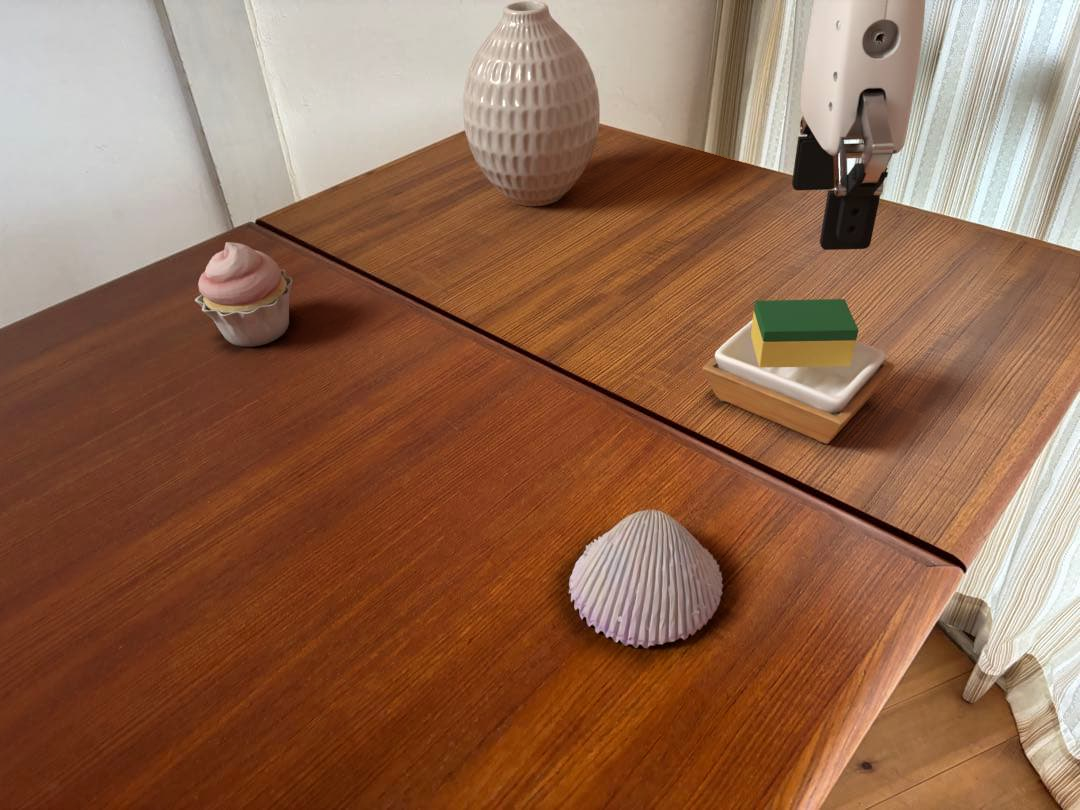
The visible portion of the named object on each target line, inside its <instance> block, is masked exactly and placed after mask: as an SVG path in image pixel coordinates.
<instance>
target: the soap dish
mask: <svg viewBox="0 0 1080 810" xmlns="http://www.w3.org/2000/svg"><path fill="white" fill-rule="evenodd" d="M752 321H753V319H752V320H750V321H749V322H747V324H745V325H744V326H743V327H742V328H740V329H739V330H738V331H737V332H735V333H734V334H733V335H732V336H731V337H729V338H728V339H727V340H726V341H725V342H724V343H722V344H721V346H719V347H718V348H717V349H716V351H715V353H714V356H713V357H712V358H711V359H710V360H709V361H707V362H706V363H705V364H704V365H702V371H703V373H704V376H705V378H706V379H707V382H708V383H709V386H710V388H711V389H712V391H713V393H714V395H715V397H716V398H717V399H718V400H719V401H720V402H721V403H729V404H731V405H733V406H735V407H738V408H740V409H742V410H745V411H748V412H749V413H752V414H755V415H756V416H759V417H762V418H764V419H767V420H769V421H771V422H773V423H776V424H778V425H781V426H783V427H785V428H787V429H790V430H792V431H795V432H797V433H800V434H802V435H804V436H806V437H808V438H812V439H814V440H816V441H817V442H818V443H820V444H826V445H827V444H828V445H829V443H831V442H832V441H833V439H834V438H835V437H836V436H837V435H838V434H839V433H840V431H842V429H844V427H845V426H846V425H847V424H848V423H849V421H850V420H852V418H853V417H854V416H855V415H857V413H858V411H860V409H861V408H862V407H864V405H865V404H866V403H867V402H868V400H869V399H870V398H871V397H872V396H873V395H874V394H875V393H876V391H877V389H879V387H880V386H881V385H882V383H883V382H884V381H885V379H886V378H887V377H888V376H889V374H890V373H891V372H892V370H893V369H894V368H895V367H896V364H895V363H893V362H891V361H889V360H887V359H886V353H885V352H884V351H883V350H881V349H879V348H876V347H874V346H873V345H869V344H867V343H864V342H861V341H858V340H856V344H855V348H854V353H853V357H852V362H851V366H828V367H759V364H758V361H757V357H756V353H755V350H754V346H753V342H752V339H751V329H752Z"/></svg>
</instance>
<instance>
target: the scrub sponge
mask: <svg viewBox="0 0 1080 810" xmlns="http://www.w3.org/2000/svg"><path fill="white" fill-rule="evenodd" d="M752 313H753V314H752V320H753V321H752V320H751V321H752V329H751V339H752V342H753V346H754V350H755V353H756V357H757V361H758V364H759V367H828V366H851V362H852V357H853V353H854V348H855V344H856V341H857V339H858V336H859V335H858V334H859V328H858V326H857V323H856V321H855V319H854V316H853V314H852V313H851V310H850V308H849V306H848V304H847V302H846V299H844V298H825V299H774V300H773V299H772V300H771V299H770V300H767V299H766V300H755V301H754V308H753V312H752Z"/></svg>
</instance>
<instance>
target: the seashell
mask: <svg viewBox="0 0 1080 810" xmlns="http://www.w3.org/2000/svg"><path fill="white" fill-rule="evenodd" d="M723 587H724V584H723V577H722V571H720V564H718V562H717V559H715V558H714V555H713V553H710V551H709V549H708V548H705V547H703V545H702V544H700V542H699V541H698V540H697V539H696V537H695V536H693V534H692V533H690V531H689V530H688V529H687V528H686V527H685V526H683V525H682V524H681V523H680V522H679V521H678V520H676V519H675V518H674V517H672V516H671V515H669V514H667V513H664V511H662V510H661V511H660V510H657V509H642V510H638V511H637V512H634V513H630V514H629V515H628V516H626V517H624V518H623V519H621V520H620V521H619V522H618V523H616V525H614V526H613V527H612V528H611V529H610V530H609V531H607V532H605V533H603V534H602V536H600V535H599V536H598V538H597V539H596V538H595V539H593V541H591V542H590V543H588V545H587V544H586V545H585V550H583V554H582V555H580V557H579V558H578V559H577V561H576V562H575V564H574V568H573V569H572V572H571V575H570V577H569V581H568V588H569V589H568V595H570V603H573V602H574V604H573V605H574V606H573V608H574V611H575V612H576V611H577V610H579V616H580V619H581V620H583V619H584V618H585V620H586V624H587V626H588V627H591V626H594V631H595V633H596V634H599V633H600V632H603V634H604V636H605V638H606V639H607V638H609V637H610V638H611V639H612V640H613V642H615V643H618V642H619V641H620V643H622V645H623V646H629V645H632V646H633V647H634V649H635V648H638V647H639V646H640V645H641V646H642V647H643V648H644V649H649V647H651V646H652V647H653V646H656V645H664V644H665V643H672V642H675V641H677V640H679V639H682V640H683V641H685V640H687V639H688V637H689V636H690V635H691V636H693V635H695V634H696V632H697V630H699V631H701V629H702V628H703V626H706V625H707V623H708V622H709V620H712V618H713V615H714V614H715V613H716V611H717V610H718V607H719V606H720V602H721V596H722V595H723V591H722V590H723Z"/></svg>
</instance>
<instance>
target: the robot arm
mask: <svg viewBox="0 0 1080 810" xmlns="http://www.w3.org/2000/svg"><path fill="white" fill-rule="evenodd" d="M812 2H813V4H812V9H811V13H810V20H809V26H808V31H807V38H806V45H805V51H804V52H805V53H804V57H803V65H802V72H801V82H800V96H799V106H800V111H801V115H802V116H801V118H800V122H799V134H800V135H801V136H800V135H799V136H798V137H797V143H796V151H795V158H794V165H793V171H792V172H793V174H792V179H791V185H792V188H793V190H794V191H825V190H827V194H826V201H825V207H824V213H823V219H822V226H821V232H820V238H819V244H820V246H821V249H822V250H824V251H838V250H841V251H843V250H865V249H867V248H869V247H870V245H871V243H872V238H873V233H874V228H875V224H876V223H875V222H876V219H877V213H878V209H879V203H880V198H881V196H882V195H883V193H884V192H883V191H884V187H885V185H884V182H885V180H886V179H887V177H888V175H889V172H888V169H889V168H888V165H889V163H890V161H891V158H892V156H893V155H897V154H898V153H900V152H901V151H902V149H903V148H904V146H905V144H906V140H907V134H908V130H909V124H910V120H911V119H910V118H911V112H912V106H913V102H914V101H913V100H914V96H915V88H916V84H917V83H916V82H917V76H918V70H919V65H920V64H919V63H920V56H921V49H922V43H923V34H924V25H925V24H924V23H925V15H926V12H925V11H926V0H813V1H812ZM851 140H852V141H855V140H858V141H859V140H862V141H863V142H856V143H845V141H851ZM848 159H861V162H857V163H855V164H854V165H853V166H852V168H851V169H850V170H849V172H848Z"/></svg>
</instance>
